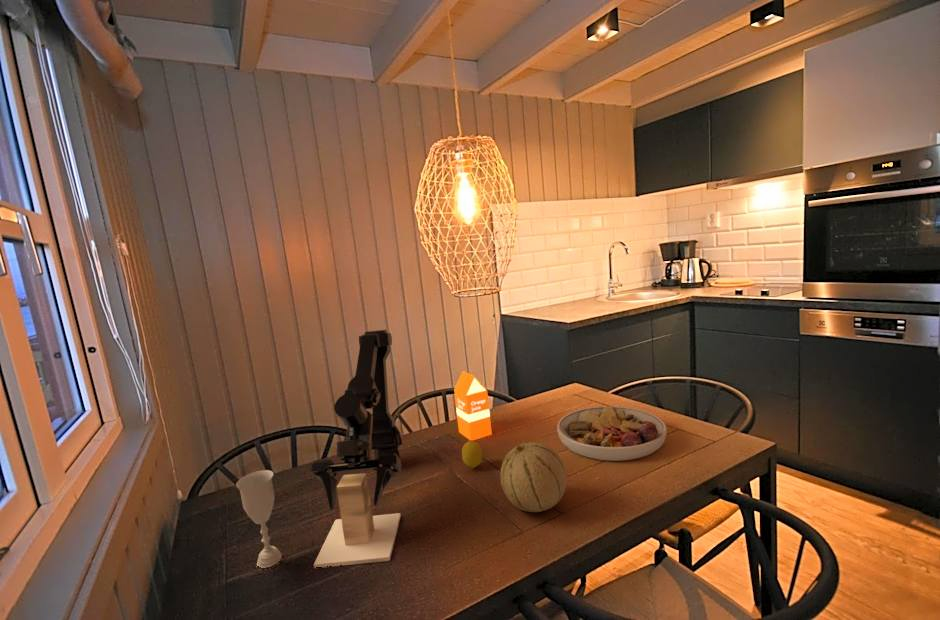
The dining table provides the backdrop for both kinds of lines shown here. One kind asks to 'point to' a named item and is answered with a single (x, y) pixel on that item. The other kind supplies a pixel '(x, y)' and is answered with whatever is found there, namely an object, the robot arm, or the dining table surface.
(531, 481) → the cantaloupe
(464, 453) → the lemon
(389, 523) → the tile
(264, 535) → the chalice
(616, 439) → the bowl
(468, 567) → the dining table surface
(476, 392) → the orange juice
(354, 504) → the wood block
